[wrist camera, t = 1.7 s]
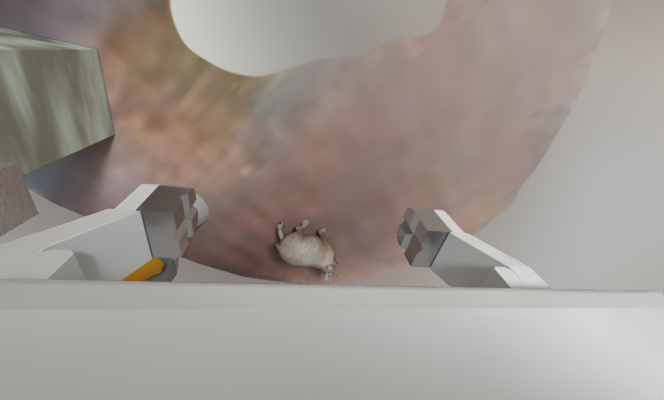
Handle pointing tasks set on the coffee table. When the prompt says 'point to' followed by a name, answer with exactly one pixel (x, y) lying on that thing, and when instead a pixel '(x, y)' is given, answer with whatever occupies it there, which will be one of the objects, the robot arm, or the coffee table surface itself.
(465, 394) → the robot arm
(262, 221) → the coffee table surface
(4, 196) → the gray rectangular block
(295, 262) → the rhinoceros figurine
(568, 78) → the coffee table surface
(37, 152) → the stand
